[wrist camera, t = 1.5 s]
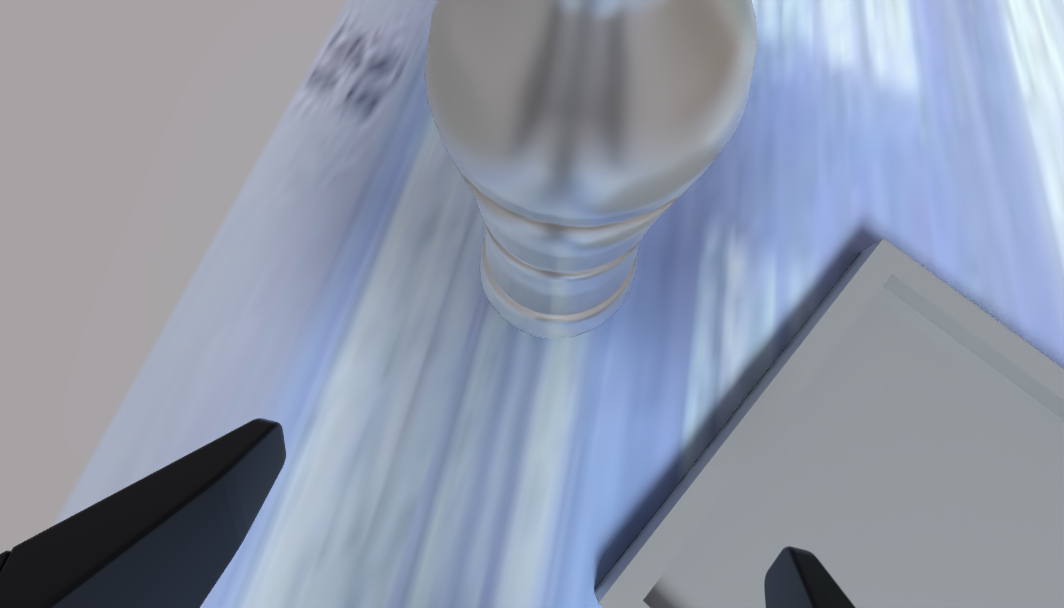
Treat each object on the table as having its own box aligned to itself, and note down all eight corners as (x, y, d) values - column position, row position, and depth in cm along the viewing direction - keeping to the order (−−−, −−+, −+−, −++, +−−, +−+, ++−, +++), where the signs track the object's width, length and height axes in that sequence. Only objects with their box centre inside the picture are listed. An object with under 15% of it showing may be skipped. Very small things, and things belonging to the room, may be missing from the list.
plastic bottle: (463, 252, 25) (210, -391, 6) (587, 196, 26) (749, -550, 6) (521, 372, 23) (449, 69, 4) (650, 309, 24) (1121, -206, 5)
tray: (984, 970, 18) (1026, 1020, 16) (593, 590, 21) (598, 602, 20) (1225, 518, 22) (1278, 524, 20) (861, 250, 25) (883, 238, 23)
